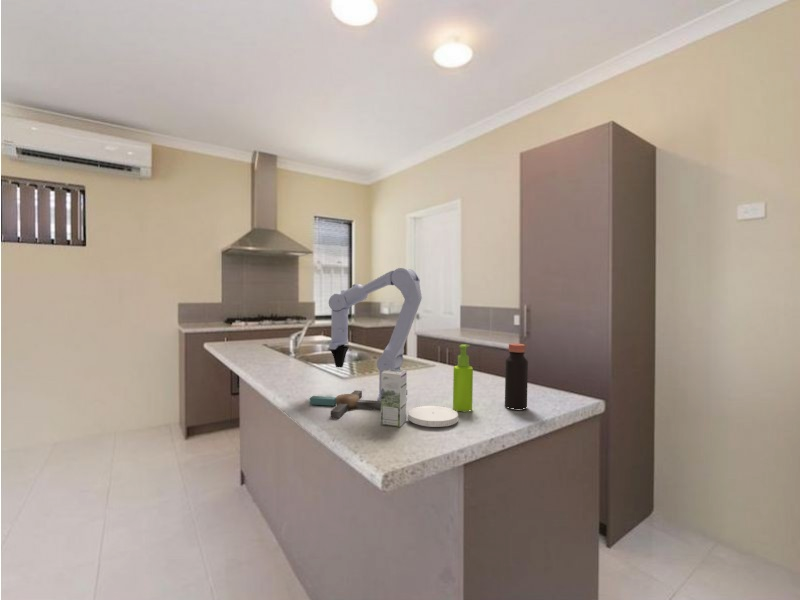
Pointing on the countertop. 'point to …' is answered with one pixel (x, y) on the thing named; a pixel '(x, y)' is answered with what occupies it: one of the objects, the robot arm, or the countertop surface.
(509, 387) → the bottle
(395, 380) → the syrup box
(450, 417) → the plastic lid
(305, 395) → the countertop surface
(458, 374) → the soap dispenser
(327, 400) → the teal rectangular block
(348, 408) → the grey brown t-shaped piece
